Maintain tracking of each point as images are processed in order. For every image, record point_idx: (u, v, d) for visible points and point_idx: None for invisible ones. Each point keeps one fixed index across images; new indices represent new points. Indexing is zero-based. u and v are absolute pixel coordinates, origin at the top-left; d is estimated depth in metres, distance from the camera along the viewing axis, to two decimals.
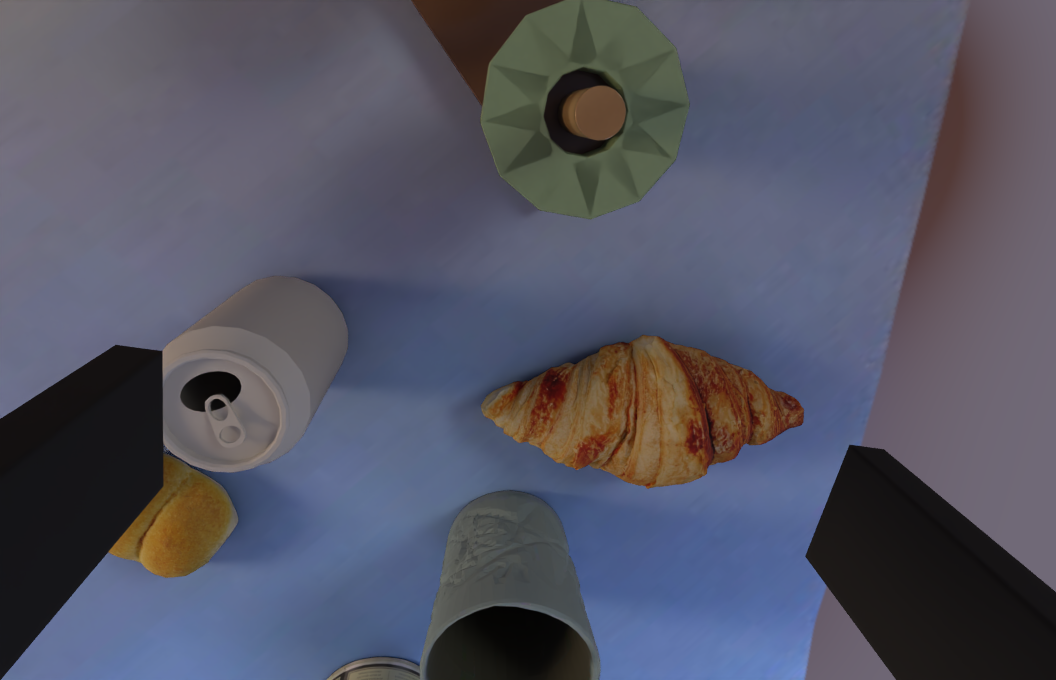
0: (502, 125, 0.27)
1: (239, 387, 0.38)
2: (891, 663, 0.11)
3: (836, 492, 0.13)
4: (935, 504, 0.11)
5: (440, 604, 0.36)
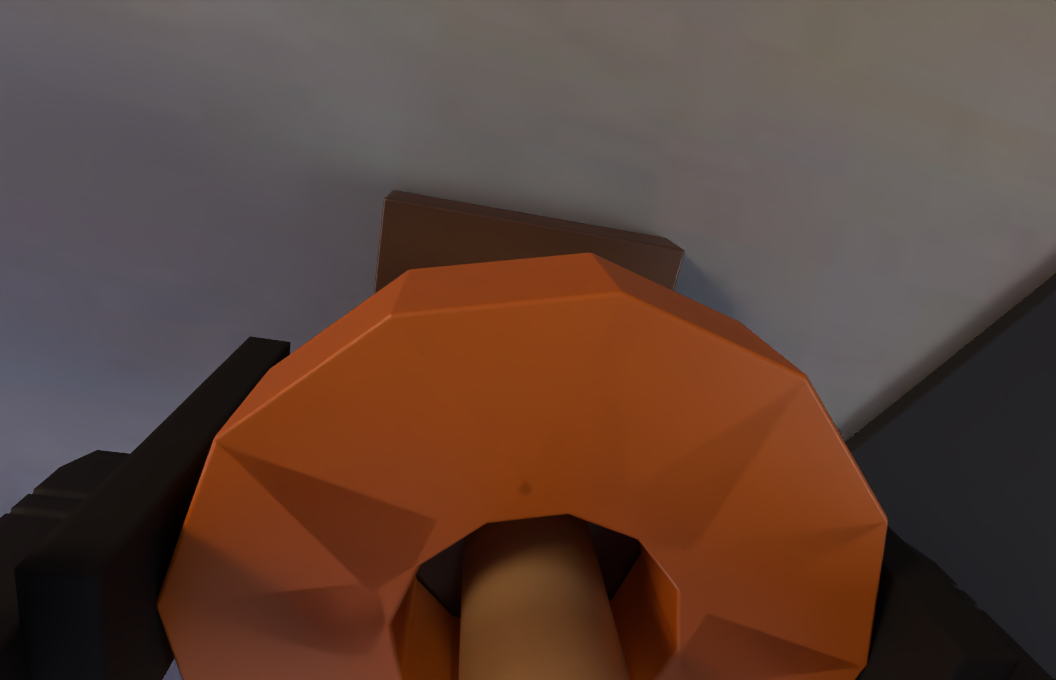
0: None
1: None
2: None
3: None
4: None
5: None
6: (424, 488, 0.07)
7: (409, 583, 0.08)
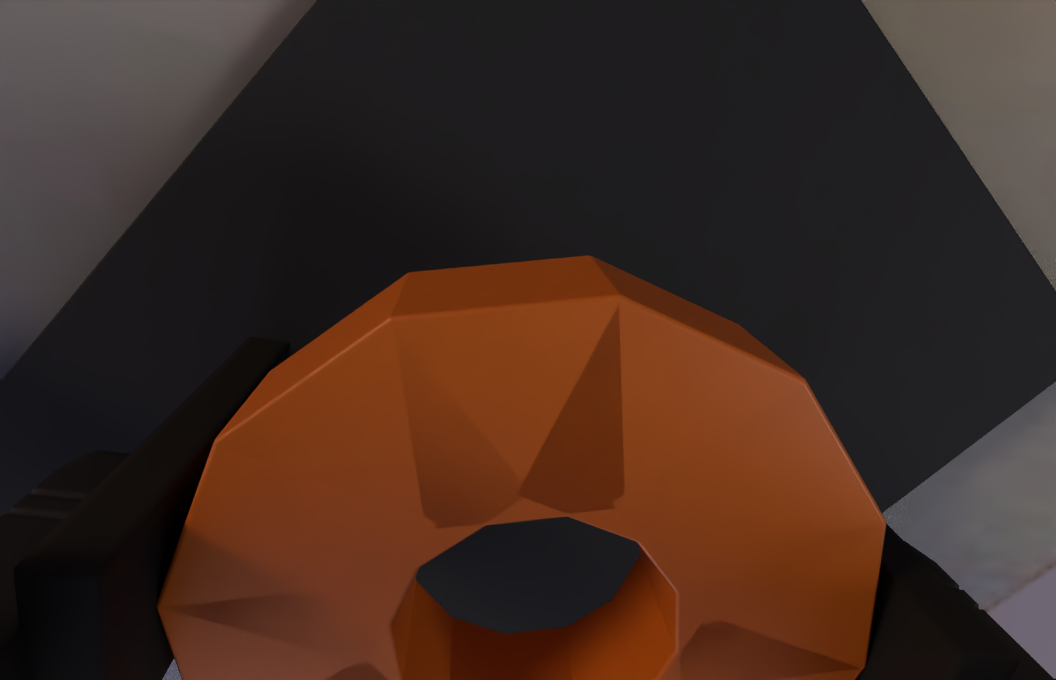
0: None
1: None
2: None
3: None
4: None
5: None
6: (423, 490, 0.07)
7: (409, 585, 0.08)
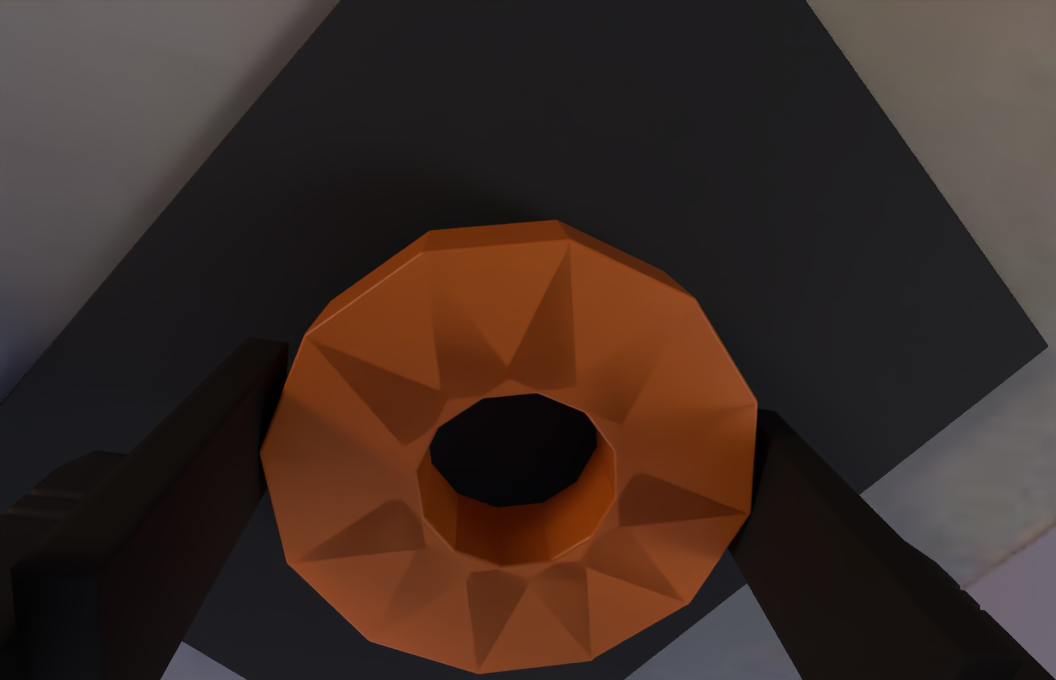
0: None
1: None
2: (763, 601, 0.11)
3: None
4: (805, 455, 0.12)
5: None
6: (440, 371, 0.11)
7: (430, 441, 0.11)
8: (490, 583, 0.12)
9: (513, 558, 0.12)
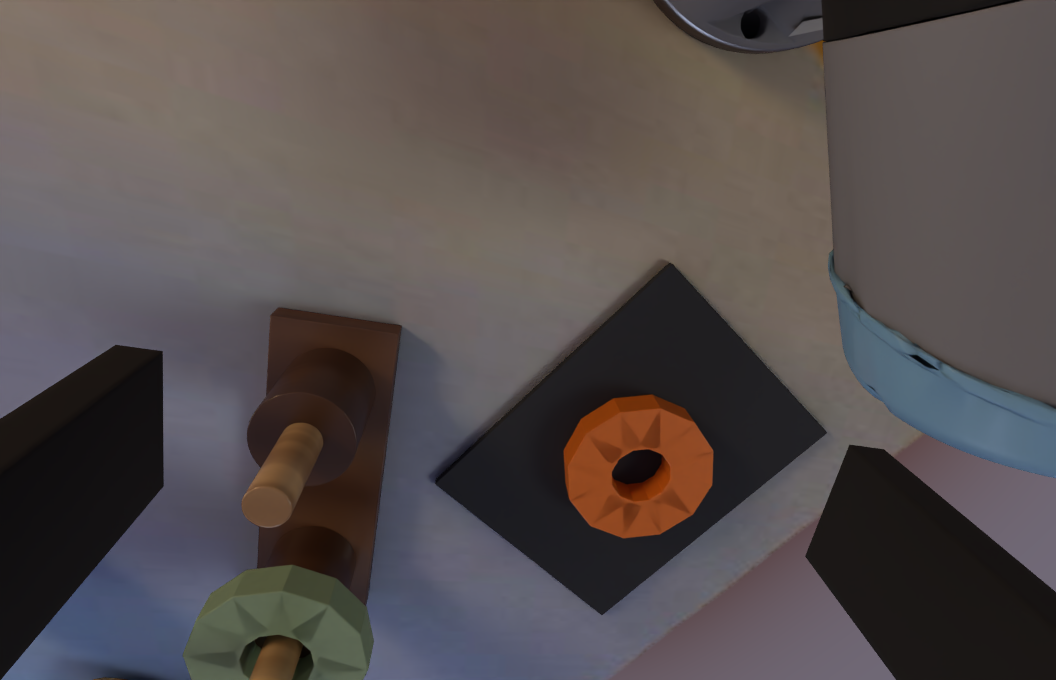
0: (210, 632, 0.31)
1: None
2: (891, 663, 0.11)
3: (836, 492, 0.13)
4: (935, 504, 0.11)
5: None
6: (622, 443, 0.38)
7: (616, 463, 0.38)
8: (630, 507, 0.39)
9: (637, 499, 0.39)
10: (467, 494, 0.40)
